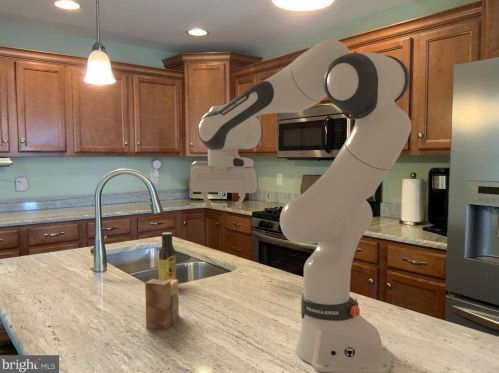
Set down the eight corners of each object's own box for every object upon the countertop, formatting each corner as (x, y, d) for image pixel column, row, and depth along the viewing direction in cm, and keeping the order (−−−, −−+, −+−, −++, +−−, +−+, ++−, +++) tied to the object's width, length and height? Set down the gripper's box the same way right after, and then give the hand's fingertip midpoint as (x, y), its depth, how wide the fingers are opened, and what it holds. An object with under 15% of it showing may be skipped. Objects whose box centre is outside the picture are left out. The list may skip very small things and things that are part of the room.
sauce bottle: (172, 289, 145) (171, 235, 143) (156, 288, 146) (154, 234, 144) (178, 283, 151) (177, 231, 149) (163, 282, 152) (162, 231, 151)
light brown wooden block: (178, 315, 121) (178, 279, 120) (169, 323, 115) (168, 286, 114) (169, 314, 122) (168, 279, 121) (159, 321, 116) (158, 285, 115)
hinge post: (177, 321, 116) (176, 278, 115) (166, 330, 110) (166, 284, 109) (156, 318, 118) (155, 276, 117) (144, 327, 112) (143, 282, 111)
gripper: (186, 160, 117) (186, 207, 118) (252, 161, 111) (252, 210, 112) (195, 160, 123) (195, 205, 124) (258, 160, 117) (258, 207, 118)
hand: (223, 207), depth 118 cm, fingers open, 8 cm apart
